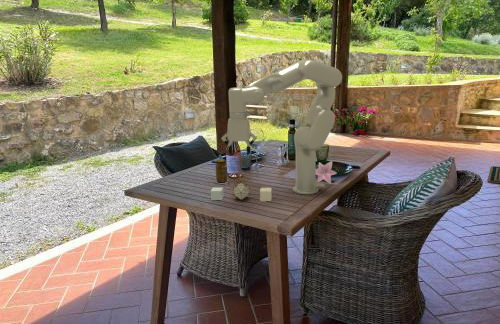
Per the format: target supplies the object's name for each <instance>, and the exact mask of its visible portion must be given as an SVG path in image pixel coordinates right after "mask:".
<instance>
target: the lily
mask: <svg viewBox="0 0 500 324" xmlns="http://www.w3.org/2000/svg"><path fill="white" fill-rule="evenodd" d="M332 166H333V161H329V162H326V164H325V165H324V164H322V163H321V162H318V168H315V176H317V180H316V182H317V183H321V181H323V180H324V181H325V182H326V183H328V184H331V183H332V179H331V176H333V175H336V174H337V171H335V170H332Z"/></svg>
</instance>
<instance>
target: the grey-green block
mask: <svg viewBox="0 0 500 324" xmlns="http://www.w3.org/2000/svg"><path fill="white" fill-rule="evenodd" d="M224 195H225V194H224V187H212V189H211V190H210V200H222V199H223V200H224V198H223V197H225V196H224ZM223 200H222V201H223Z"/></svg>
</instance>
